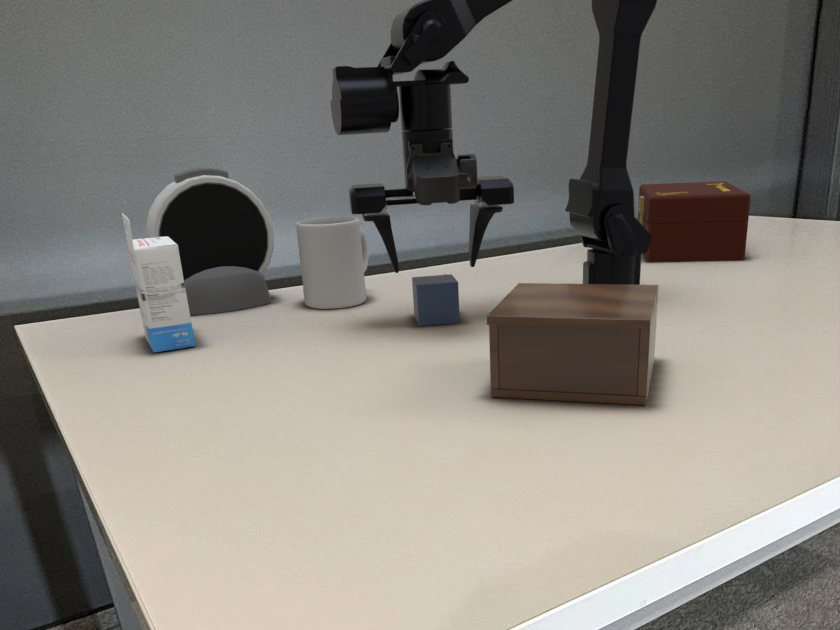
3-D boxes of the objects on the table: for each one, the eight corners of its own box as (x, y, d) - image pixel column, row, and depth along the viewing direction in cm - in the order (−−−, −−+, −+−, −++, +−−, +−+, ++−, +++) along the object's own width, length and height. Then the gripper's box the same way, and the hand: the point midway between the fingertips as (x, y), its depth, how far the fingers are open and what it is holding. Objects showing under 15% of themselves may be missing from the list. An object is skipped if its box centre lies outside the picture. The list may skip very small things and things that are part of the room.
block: (453, 313, 101) (451, 274, 99) (459, 323, 96) (458, 281, 94) (414, 316, 100) (411, 277, 98) (419, 326, 96) (416, 285, 94)
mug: (341, 311, 105) (332, 225, 100) (292, 306, 109) (281, 223, 104) (392, 292, 114) (387, 213, 110) (345, 288, 118) (338, 212, 114)
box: (629, 241, 146) (631, 183, 142) (722, 238, 143) (727, 180, 139) (637, 262, 127) (640, 196, 123) (745, 259, 124) (751, 193, 120)
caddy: (646, 405, 68) (650, 327, 65) (490, 397, 71) (488, 323, 69) (654, 361, 79) (658, 293, 76) (519, 356, 82) (518, 291, 80)
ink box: (198, 346, 92) (174, 215, 86) (153, 354, 90) (125, 219, 84) (186, 331, 99) (164, 208, 93) (144, 337, 97) (118, 212, 91)
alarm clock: (169, 320, 105) (141, 174, 97) (157, 306, 113) (130, 170, 106) (288, 302, 111) (270, 164, 104) (268, 290, 120) (250, 161, 112)
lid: (649, 329, 64) (650, 319, 64) (486, 324, 68) (486, 315, 68) (658, 293, 76) (658, 284, 76) (518, 290, 80) (518, 282, 79)
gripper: (346, 136, 81) (360, 289, 87) (524, 126, 83) (526, 276, 90) (343, 134, 91) (356, 270, 97) (502, 125, 94) (504, 259, 100)
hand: (434, 269), depth 96 cm, fingers open, 9 cm apart
